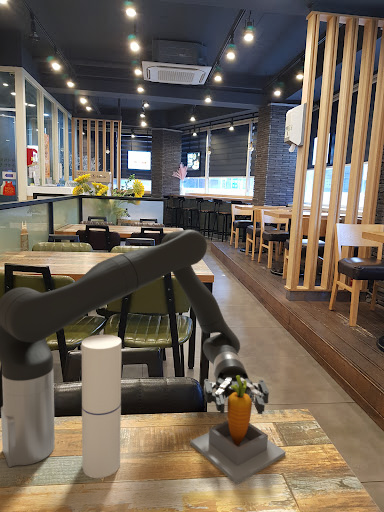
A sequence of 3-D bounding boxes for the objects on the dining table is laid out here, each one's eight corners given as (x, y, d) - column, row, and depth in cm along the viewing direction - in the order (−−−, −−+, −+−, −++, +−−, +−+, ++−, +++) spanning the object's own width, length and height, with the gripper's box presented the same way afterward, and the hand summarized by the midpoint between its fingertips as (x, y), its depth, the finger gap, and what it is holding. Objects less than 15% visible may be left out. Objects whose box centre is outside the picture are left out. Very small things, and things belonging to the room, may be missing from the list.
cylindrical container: (86, 482, 67) (86, 351, 63) (79, 458, 73) (78, 337, 70) (124, 470, 70) (126, 345, 67) (114, 448, 76) (115, 332, 73)
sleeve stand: (236, 484, 68) (238, 464, 67) (190, 444, 79) (191, 426, 78) (285, 455, 76) (286, 437, 76) (237, 422, 87) (238, 406, 87)
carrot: (248, 455, 75) (252, 386, 72) (223, 451, 76) (227, 382, 73) (249, 440, 80) (254, 374, 77) (226, 436, 81) (230, 371, 78)
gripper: (201, 357, 89) (207, 391, 73) (259, 358, 90) (278, 392, 74) (199, 386, 90) (205, 426, 74) (257, 387, 91) (275, 427, 75)
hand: (241, 409), depth 74 cm, fingers open, 7 cm apart
